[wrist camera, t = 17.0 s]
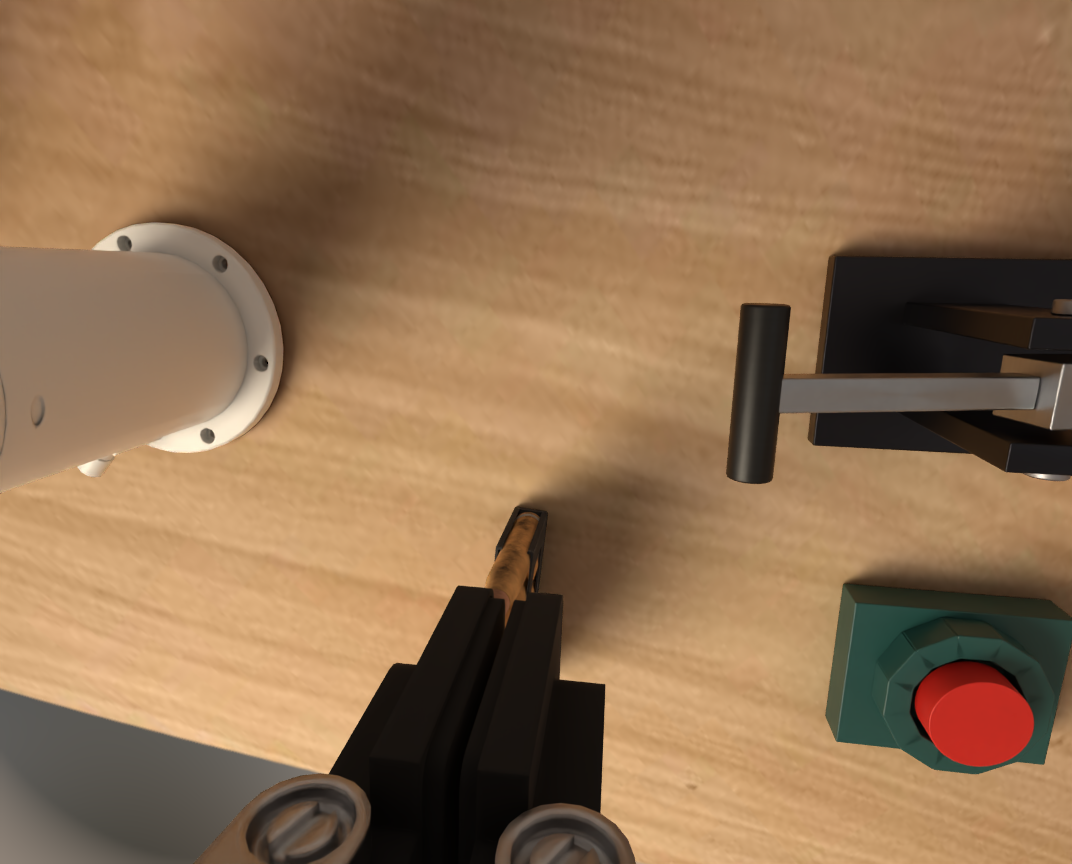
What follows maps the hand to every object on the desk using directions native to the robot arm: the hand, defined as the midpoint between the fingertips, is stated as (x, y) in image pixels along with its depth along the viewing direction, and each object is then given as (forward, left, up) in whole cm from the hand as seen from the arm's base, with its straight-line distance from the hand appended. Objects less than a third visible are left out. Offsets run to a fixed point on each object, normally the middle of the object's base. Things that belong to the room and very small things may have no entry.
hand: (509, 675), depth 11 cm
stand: (+12, -11, -26) cm, 30 cm away
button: (+1, -23, -22) cm, 32 cm away
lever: (+9, -7, -15) cm, 19 cm away
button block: (+1, -23, -26) cm, 34 cm away
